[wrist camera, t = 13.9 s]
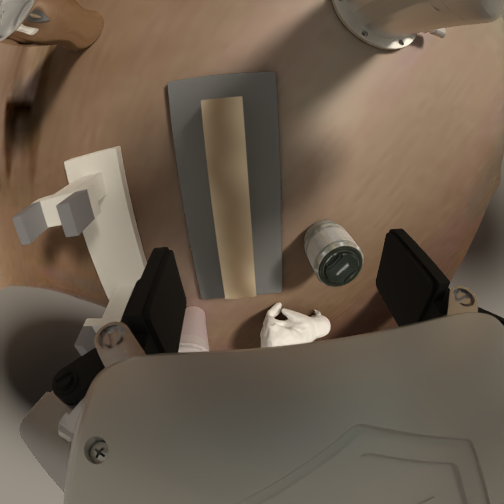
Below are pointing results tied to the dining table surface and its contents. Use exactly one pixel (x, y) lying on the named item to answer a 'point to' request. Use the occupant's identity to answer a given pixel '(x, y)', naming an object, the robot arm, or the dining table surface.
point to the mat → (258, 165)
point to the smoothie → (194, 331)
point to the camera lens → (332, 253)
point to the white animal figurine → (292, 327)
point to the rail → (230, 193)
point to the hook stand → (94, 229)
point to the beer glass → (48, 23)
